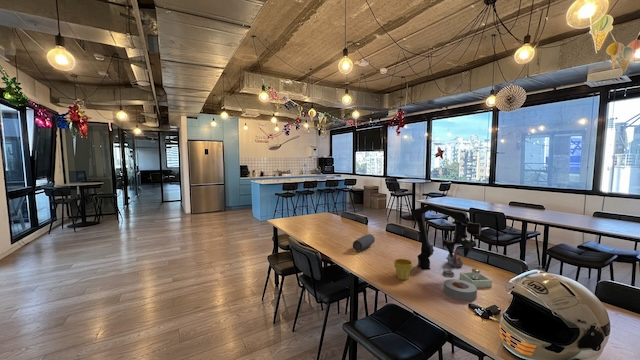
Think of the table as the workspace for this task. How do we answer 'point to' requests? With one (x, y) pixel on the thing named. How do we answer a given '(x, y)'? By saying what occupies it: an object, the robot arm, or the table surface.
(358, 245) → the bluetooth speaker
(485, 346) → the table surface
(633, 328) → the table surface
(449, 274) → the disc with square block
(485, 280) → the bin
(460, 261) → the carburetor
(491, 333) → the table surface
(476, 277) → the brass cabinet knob
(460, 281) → the tape roll
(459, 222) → the robot arm
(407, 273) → the plant pot
